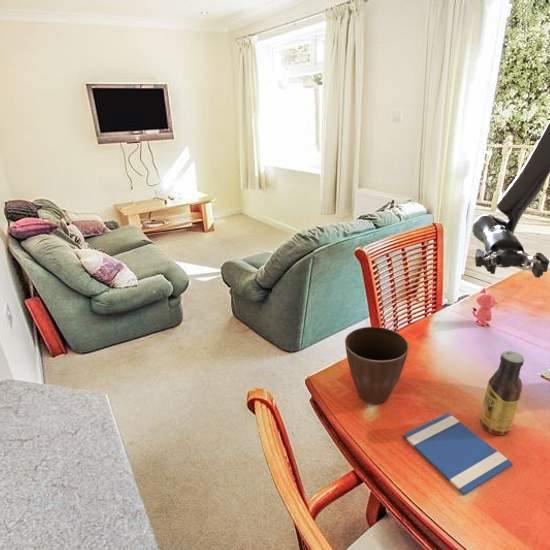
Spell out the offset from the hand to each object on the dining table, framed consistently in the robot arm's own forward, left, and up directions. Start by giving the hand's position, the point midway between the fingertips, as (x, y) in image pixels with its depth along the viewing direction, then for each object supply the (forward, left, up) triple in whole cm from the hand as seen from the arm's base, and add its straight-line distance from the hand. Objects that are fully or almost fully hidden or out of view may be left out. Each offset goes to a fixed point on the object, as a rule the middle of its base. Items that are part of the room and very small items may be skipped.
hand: (515, 271), depth 81 cm
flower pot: (+25, -14, -34) cm, 45 cm away
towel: (+21, +8, -34) cm, 41 cm away
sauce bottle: (+8, +7, -34) cm, 36 cm away
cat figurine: (-29, -24, -34) cm, 51 cm away
